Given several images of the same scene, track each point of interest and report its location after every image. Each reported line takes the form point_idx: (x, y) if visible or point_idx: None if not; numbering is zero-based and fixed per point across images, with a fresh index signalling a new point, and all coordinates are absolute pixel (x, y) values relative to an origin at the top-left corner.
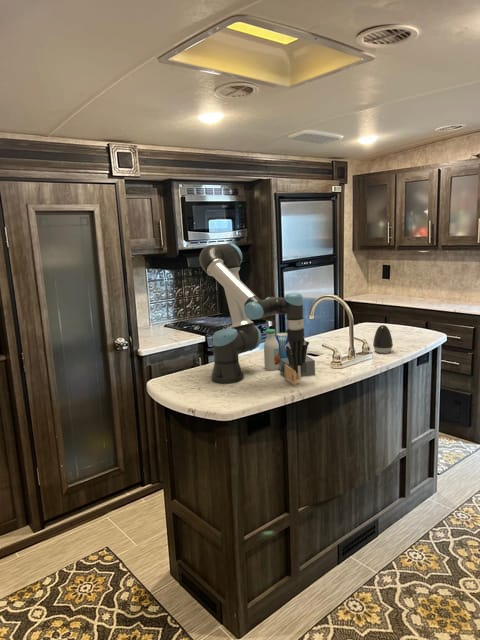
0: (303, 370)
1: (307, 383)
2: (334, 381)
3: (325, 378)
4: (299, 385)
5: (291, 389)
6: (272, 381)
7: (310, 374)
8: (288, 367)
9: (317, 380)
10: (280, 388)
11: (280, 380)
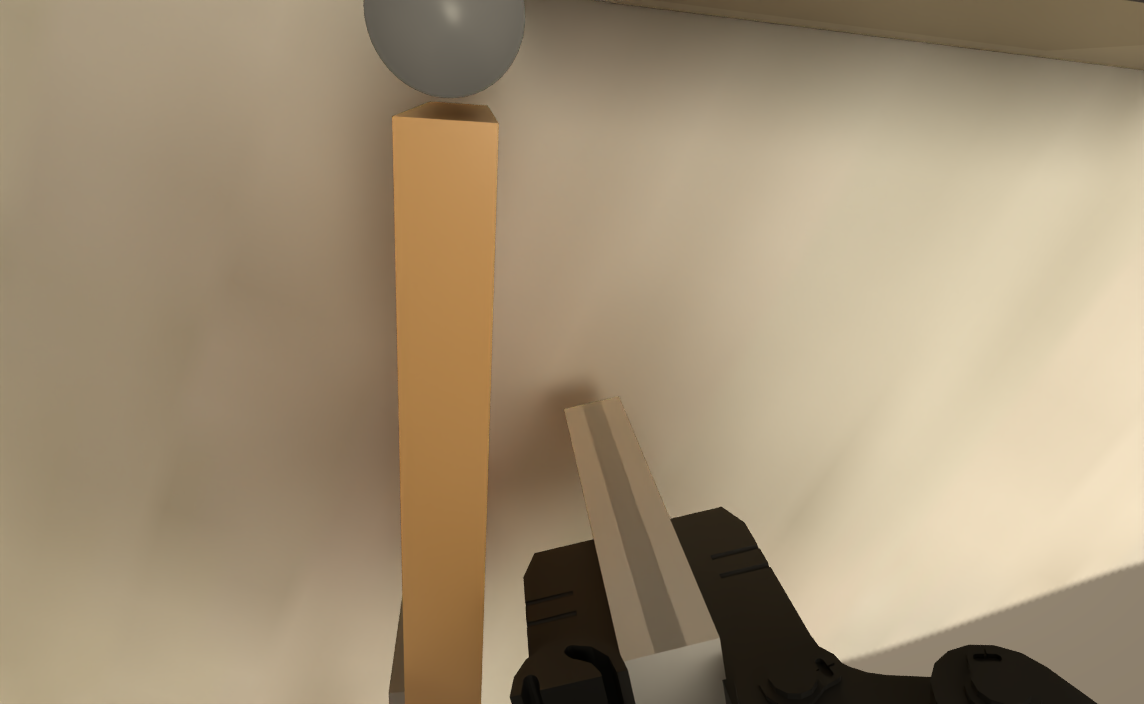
0: (1032, 33)
1: (724, 496)
2: (1115, 560)
3: (1133, 379)
4: (549, 537)
5: (336, 661)
6: (61, 46)
7: (1094, 61)
8: (412, 476)
9: (959, 420)
10: (151, 561)
11: (296, 72)
